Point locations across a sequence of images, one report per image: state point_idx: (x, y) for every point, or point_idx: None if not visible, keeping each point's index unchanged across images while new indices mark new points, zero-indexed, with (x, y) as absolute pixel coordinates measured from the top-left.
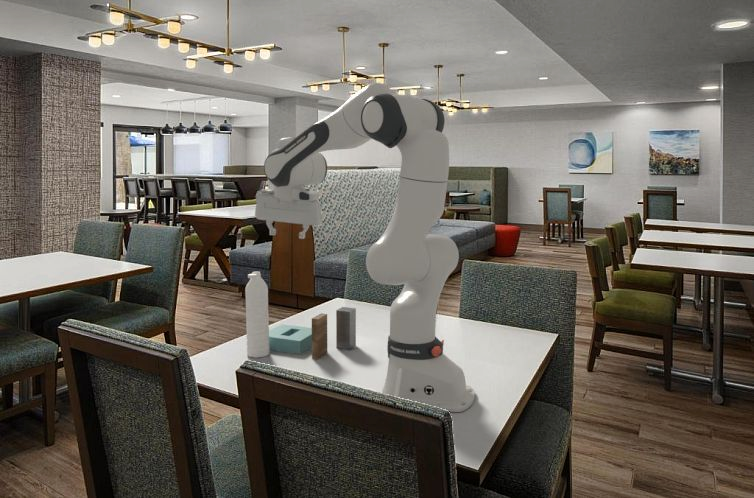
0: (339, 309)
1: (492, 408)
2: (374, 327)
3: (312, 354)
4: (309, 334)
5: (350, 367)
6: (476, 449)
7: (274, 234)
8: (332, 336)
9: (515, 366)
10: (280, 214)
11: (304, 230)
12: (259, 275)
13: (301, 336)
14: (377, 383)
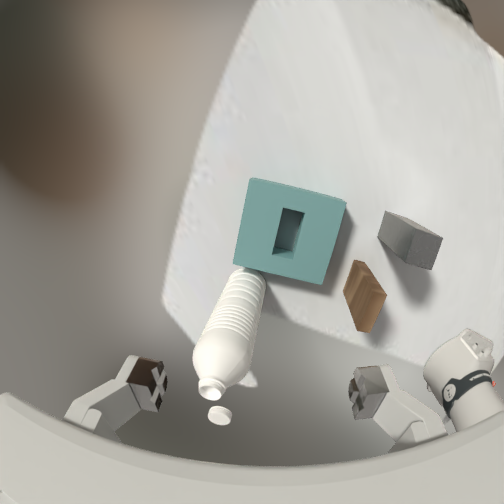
0: (411, 253)
1: None
2: (423, 102)
3: (344, 295)
4: (331, 243)
5: (399, 314)
6: None
7: (164, 380)
8: (358, 165)
9: None
10: None
11: (395, 431)
12: (224, 392)
13: (318, 258)
14: (423, 351)
